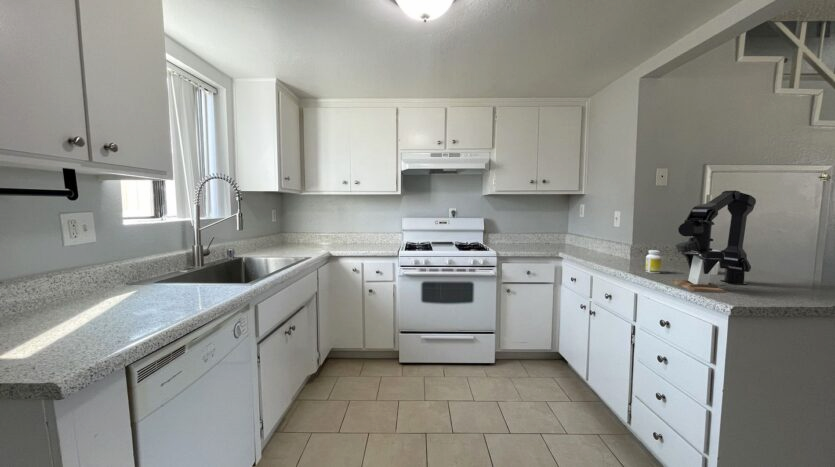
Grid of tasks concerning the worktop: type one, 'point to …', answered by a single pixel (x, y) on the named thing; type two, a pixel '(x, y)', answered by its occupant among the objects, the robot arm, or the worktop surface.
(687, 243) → the robot arm
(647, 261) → the pill bottle
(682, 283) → the wooden slatted trivet
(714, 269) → the cylinder with rectangular tab
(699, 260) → the skincare box
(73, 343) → the worktop surface
